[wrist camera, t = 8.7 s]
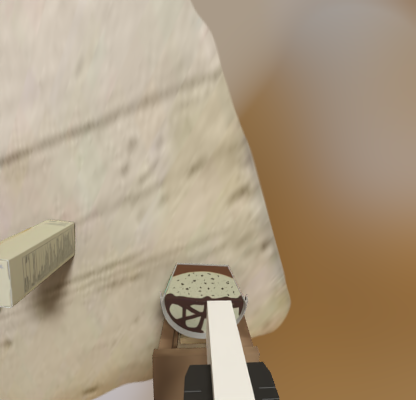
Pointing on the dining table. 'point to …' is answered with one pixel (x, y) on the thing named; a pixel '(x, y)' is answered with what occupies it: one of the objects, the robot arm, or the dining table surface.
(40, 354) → the dining table surface
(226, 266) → the food container
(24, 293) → the skincare box
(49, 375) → the dining table surface
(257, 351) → the small wooden bench
